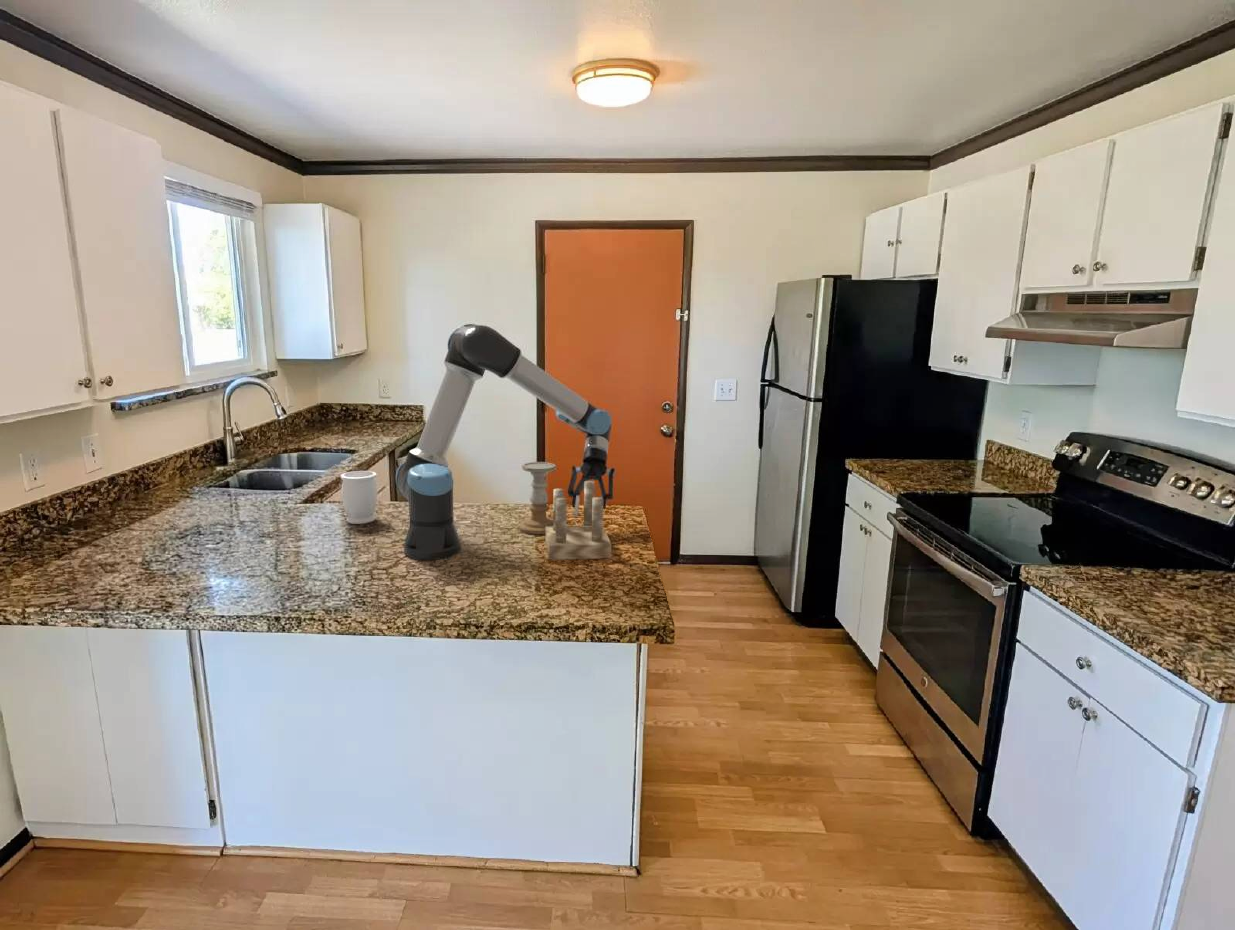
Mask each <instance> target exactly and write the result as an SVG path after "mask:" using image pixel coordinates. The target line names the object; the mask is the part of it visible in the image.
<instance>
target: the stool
mask: <svg viewBox="0 0 1235 930" xmlns="http://www.w3.org/2000/svg"><path fill="white" fill-rule="evenodd" d="M552 494H553V496H552V497H553V501H552V502H553V505H552V506H553V507H552V510H553V511H552V513H553V515H552V520H553V526H546V528H545V534H544V535H545V539H544V540H545V545H546V550H547V557H548V560H549V561H551V560H552V561H553V560H556V561H557V560H582V559H583V560H584V559H585V560H588V559H589V560H590V559H611V558H612V543H611V540H610V539H609V536H608V534H607V532H606V529H605V528H604V525H603V524H604V509H603V498H601V497H602V496H595V497H594V498H592V526H584V525H567V523H568V522H567V519H568V512H567V511H568V498H566V497H565V489H563V488H554V489H553V493H552Z"/></svg>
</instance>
